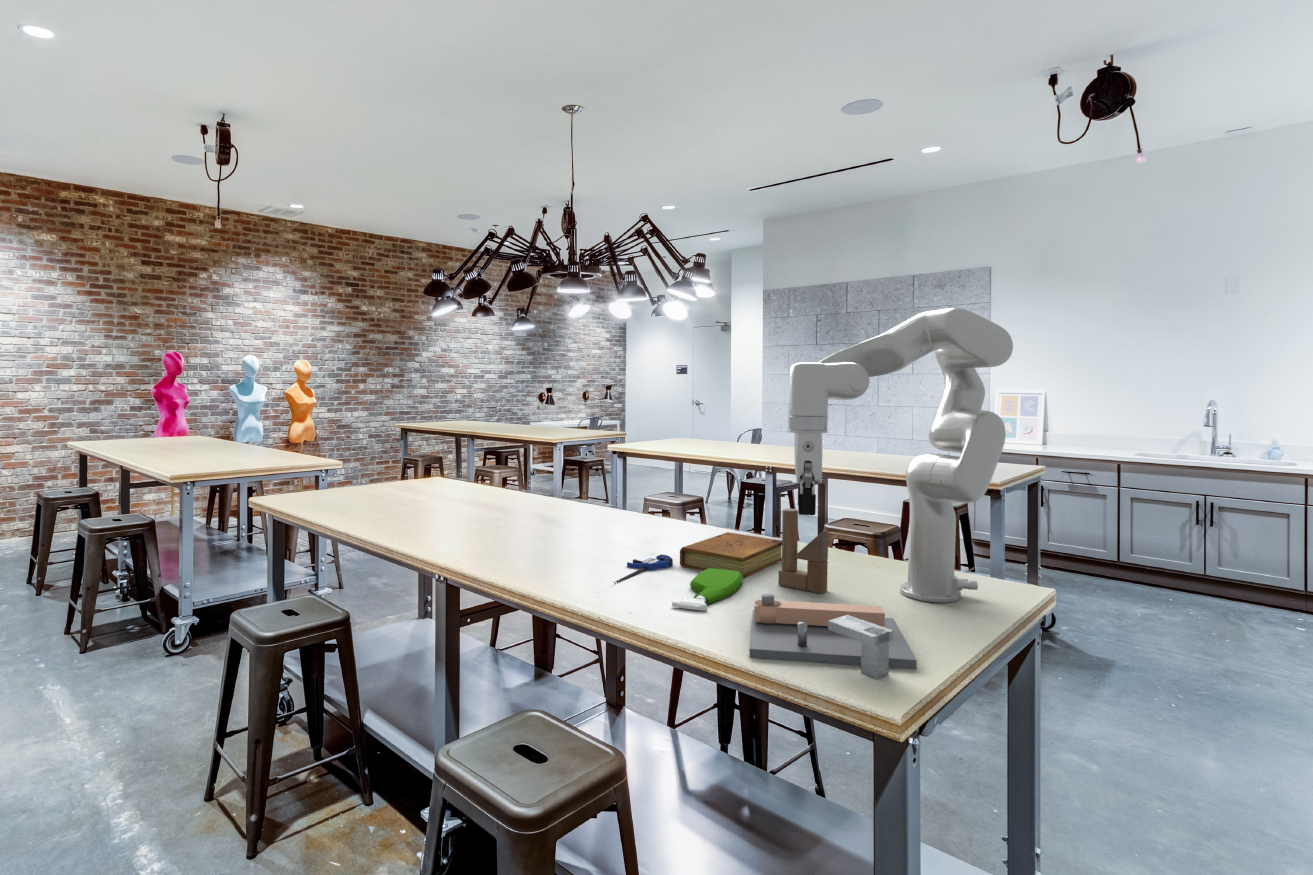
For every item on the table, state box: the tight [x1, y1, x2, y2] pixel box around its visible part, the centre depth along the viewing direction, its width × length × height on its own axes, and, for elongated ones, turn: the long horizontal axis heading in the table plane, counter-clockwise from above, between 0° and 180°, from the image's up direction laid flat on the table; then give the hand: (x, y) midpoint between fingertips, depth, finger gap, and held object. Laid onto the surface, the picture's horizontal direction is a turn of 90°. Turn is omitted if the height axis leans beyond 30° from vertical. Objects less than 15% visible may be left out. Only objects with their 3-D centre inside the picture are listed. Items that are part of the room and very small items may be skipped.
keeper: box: [798, 615, 893, 680], centre depth 108 cm, size 14×7×7 cm, turn 35°
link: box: [753, 593, 886, 627], centre depth 122 cm, size 24×5×4 cm, turn 80°
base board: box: [749, 609, 918, 670], centre depth 118 cm, size 27×20×2 cm
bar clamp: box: [613, 554, 674, 585], centre depth 160 cm, size 32×2×10 cm
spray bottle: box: [671, 568, 744, 612], centre depth 145 cm, size 3×11×24 cm
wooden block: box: [777, 508, 829, 595], centre depth 149 cm, size 4×11×18 cm, turn 52°
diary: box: [679, 531, 782, 579], centre depth 172 cm, size 23×19×6 cm
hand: (806, 510), depth 129 cm, fingers open, 9 cm apart
